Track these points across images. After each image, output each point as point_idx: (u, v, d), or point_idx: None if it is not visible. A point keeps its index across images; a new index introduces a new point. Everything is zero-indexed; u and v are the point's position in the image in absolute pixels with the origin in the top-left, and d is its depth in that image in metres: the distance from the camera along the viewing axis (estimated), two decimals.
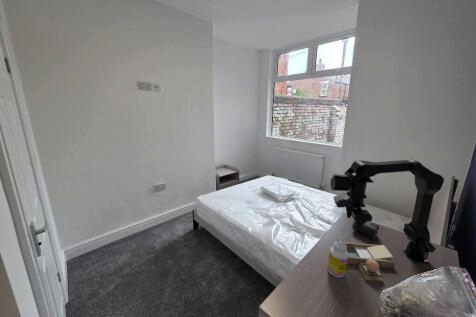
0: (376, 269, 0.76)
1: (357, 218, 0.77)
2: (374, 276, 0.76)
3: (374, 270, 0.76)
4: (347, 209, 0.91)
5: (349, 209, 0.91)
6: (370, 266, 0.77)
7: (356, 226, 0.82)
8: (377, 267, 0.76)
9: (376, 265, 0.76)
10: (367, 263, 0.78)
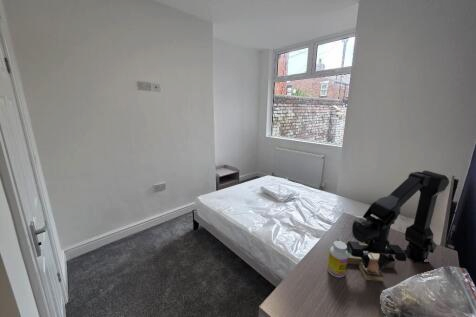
0: (376, 269, 0.76)
1: (347, 244, 0.80)
2: (374, 276, 0.76)
3: (374, 270, 0.76)
4: (379, 258, 0.78)
5: (380, 260, 0.77)
6: (370, 266, 0.77)
7: (363, 262, 0.79)
8: (377, 267, 0.76)
9: (376, 265, 0.76)
10: None
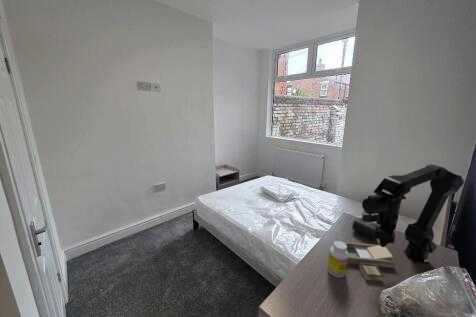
0: None
1: (375, 236, 0.73)
2: (374, 276, 0.76)
3: (389, 243, 0.79)
4: None
5: None
6: None
7: (381, 243, 0.78)
8: None
9: None
10: None
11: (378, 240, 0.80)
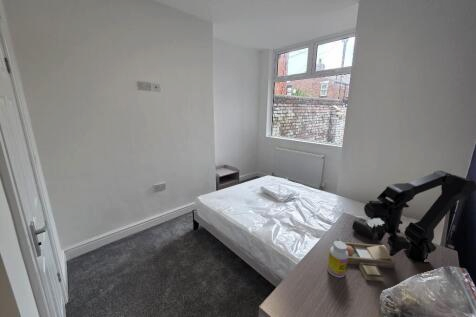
0: (351, 247, 0.88)
1: (395, 246, 0.75)
2: (374, 276, 0.76)
3: (353, 249, 0.88)
4: (378, 232, 0.89)
5: (380, 232, 0.89)
6: (351, 250, 0.86)
7: (392, 252, 0.80)
8: (349, 246, 0.89)
9: (348, 245, 0.88)
10: (349, 252, 0.86)
11: None
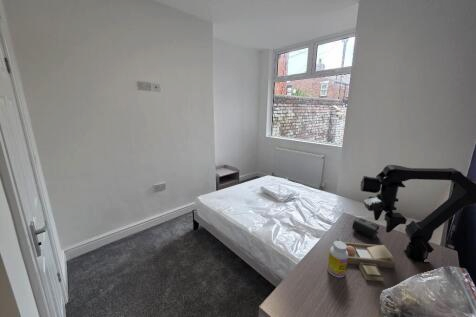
0: None
1: (392, 221, 0.79)
2: (374, 276, 0.76)
3: None
4: (375, 212, 0.93)
5: (377, 212, 0.93)
6: (354, 250, 0.86)
7: (388, 229, 0.84)
8: None
9: (351, 246, 0.88)
10: (351, 252, 0.86)
11: None
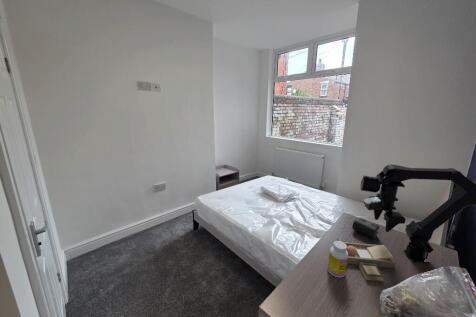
0: None
1: (391, 221, 0.79)
2: (374, 276, 0.76)
3: None
4: (375, 211, 0.94)
5: (377, 211, 0.93)
6: (356, 251, 0.86)
7: (387, 228, 0.84)
8: None
9: (354, 247, 0.88)
10: (353, 252, 0.86)
11: (348, 252, 0.87)
